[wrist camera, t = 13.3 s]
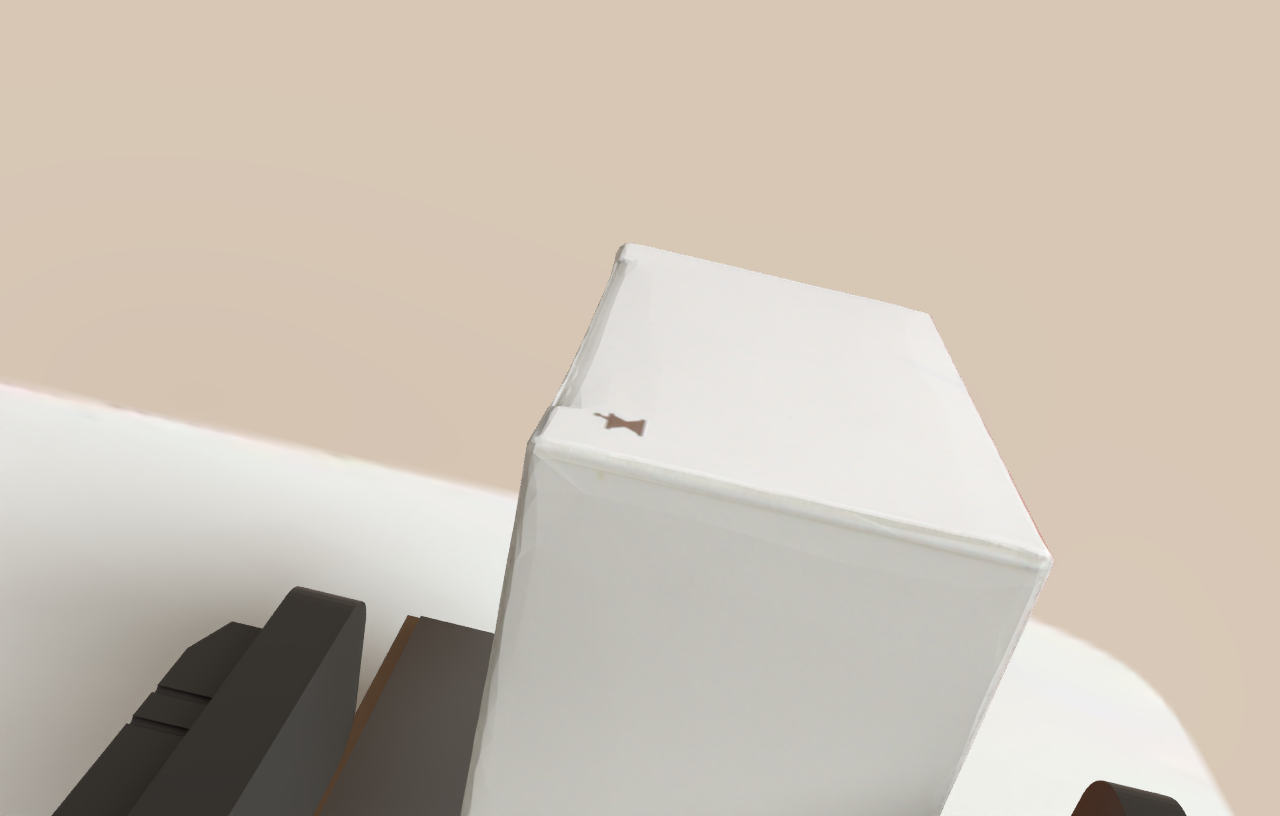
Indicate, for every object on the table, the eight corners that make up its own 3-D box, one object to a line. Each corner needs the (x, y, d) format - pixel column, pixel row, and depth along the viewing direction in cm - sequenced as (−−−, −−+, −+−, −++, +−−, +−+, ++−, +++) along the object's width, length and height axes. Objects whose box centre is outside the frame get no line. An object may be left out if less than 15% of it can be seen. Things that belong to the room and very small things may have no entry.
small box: (787, 1169, 14) (1076, 570, 10) (406, 1074, 14) (520, 436, 10) (777, 758, 22) (942, 306, 17) (525, 697, 22) (621, 230, 17)
